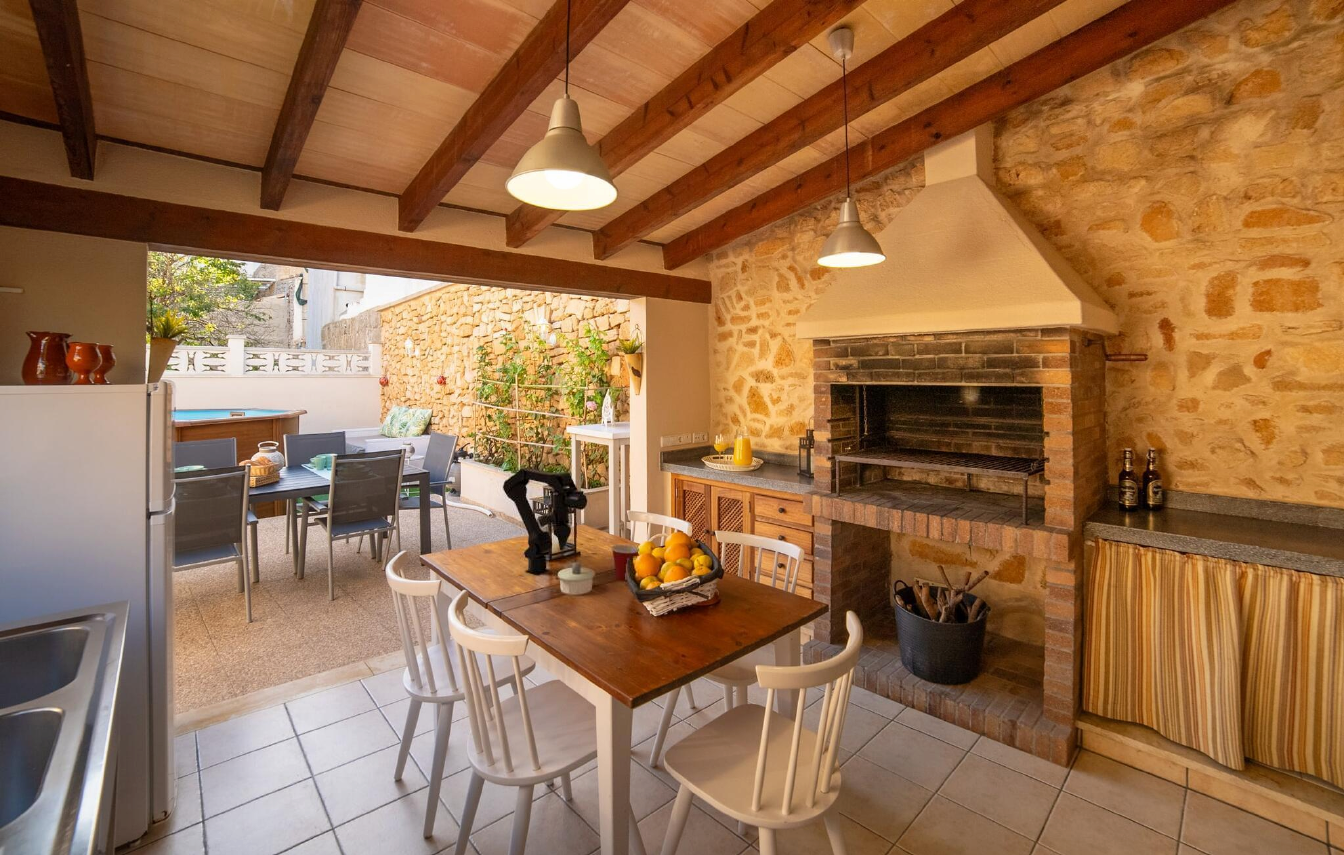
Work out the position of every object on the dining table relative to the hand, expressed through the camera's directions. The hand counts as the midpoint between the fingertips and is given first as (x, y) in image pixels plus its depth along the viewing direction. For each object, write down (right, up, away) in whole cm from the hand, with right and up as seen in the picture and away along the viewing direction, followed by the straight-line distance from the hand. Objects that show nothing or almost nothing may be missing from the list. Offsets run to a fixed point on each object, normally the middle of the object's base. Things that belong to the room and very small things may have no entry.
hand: (560, 546), depth 224 cm
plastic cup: (+24, -13, +3) cm, 27 cm away
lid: (+8, -8, -11) cm, 16 cm away
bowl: (+8, -13, -11) cm, 19 cm away
